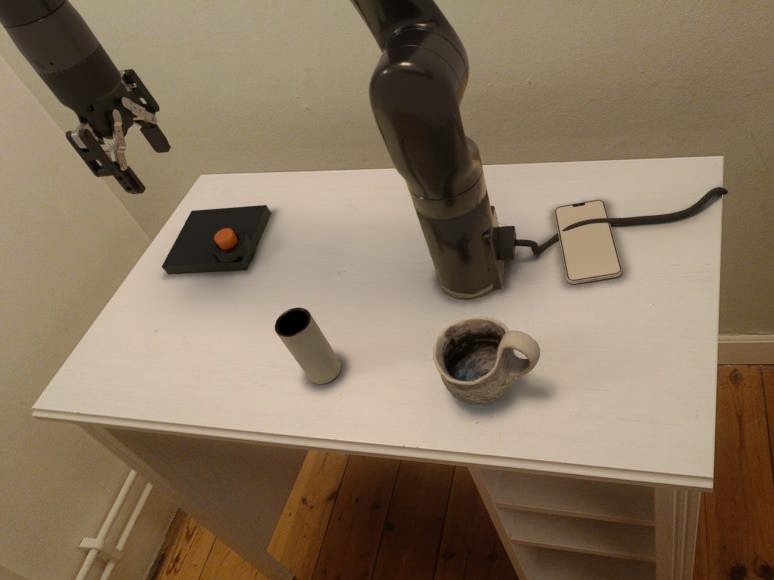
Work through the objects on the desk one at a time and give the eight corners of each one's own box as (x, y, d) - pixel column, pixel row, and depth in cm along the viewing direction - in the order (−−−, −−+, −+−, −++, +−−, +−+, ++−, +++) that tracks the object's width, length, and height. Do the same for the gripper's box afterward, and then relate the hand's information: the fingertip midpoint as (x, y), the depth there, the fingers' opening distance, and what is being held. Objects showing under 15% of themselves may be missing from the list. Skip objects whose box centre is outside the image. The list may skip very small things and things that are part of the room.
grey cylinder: (335, 385, 79) (302, 338, 71) (303, 383, 80) (268, 335, 72) (346, 357, 81) (316, 307, 73) (315, 355, 83) (282, 306, 74)
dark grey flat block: (274, 213, 102) (264, 196, 100) (249, 270, 95) (238, 254, 92) (197, 218, 105) (186, 203, 102) (168, 274, 98) (155, 259, 95)
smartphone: (567, 282, 81) (553, 207, 90) (567, 285, 82) (553, 210, 91) (623, 273, 80) (603, 198, 89) (623, 276, 81) (603, 201, 90)
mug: (452, 348, 79) (434, 297, 71) (549, 349, 76) (541, 296, 68) (439, 413, 74) (418, 366, 66) (543, 416, 71) (534, 368, 63)
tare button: (240, 235, 95) (235, 227, 94) (234, 249, 94) (228, 241, 92) (223, 236, 96) (217, 228, 95) (217, 250, 94) (211, 242, 93)
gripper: (62, 84, 64) (156, 204, 77) (120, 15, 72) (196, 135, 85) (3, 92, 65) (104, 209, 78) (66, 24, 73) (148, 140, 86)
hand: (152, 170), depth 81 cm, fingers open, 8 cm apart
